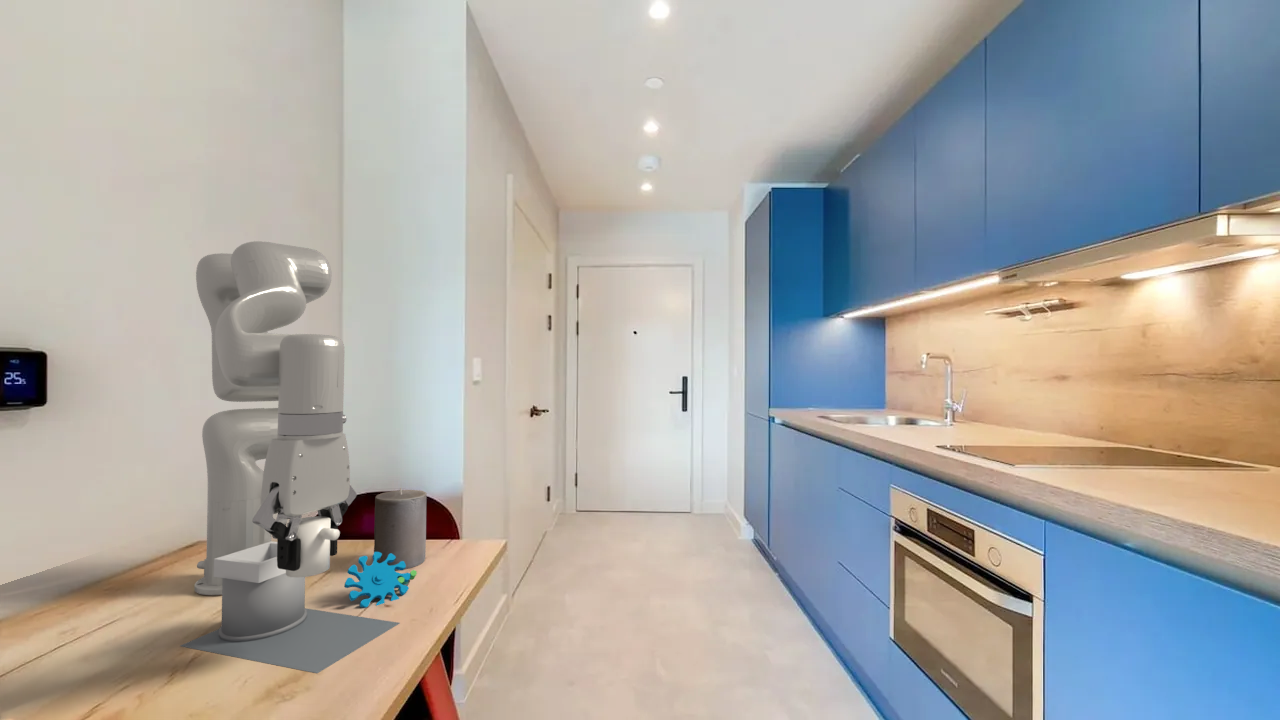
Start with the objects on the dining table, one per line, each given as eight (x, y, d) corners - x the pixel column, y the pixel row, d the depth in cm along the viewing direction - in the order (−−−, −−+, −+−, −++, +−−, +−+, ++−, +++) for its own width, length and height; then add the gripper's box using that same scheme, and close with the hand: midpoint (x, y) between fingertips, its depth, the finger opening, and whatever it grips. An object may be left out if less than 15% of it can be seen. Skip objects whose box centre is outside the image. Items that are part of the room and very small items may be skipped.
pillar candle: (362, 567, 105) (363, 490, 106) (401, 552, 114) (402, 481, 115) (399, 574, 101) (400, 495, 102) (436, 558, 110) (437, 485, 111)
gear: (346, 610, 82) (346, 551, 88) (337, 629, 84) (337, 570, 91) (421, 601, 88) (415, 547, 95) (410, 619, 91) (405, 565, 98)
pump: (276, 574, 70) (277, 524, 70) (310, 561, 75) (311, 515, 75) (317, 581, 68) (319, 530, 68) (349, 567, 73) (350, 519, 73)
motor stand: (178, 652, 72) (180, 567, 73) (275, 610, 86) (276, 537, 86) (317, 681, 65) (318, 586, 66) (400, 629, 79) (400, 550, 79)
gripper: (341, 419, 81) (339, 539, 81) (225, 431, 65) (221, 581, 65) (381, 421, 79) (379, 544, 79) (271, 434, 63) (268, 590, 62)
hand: (308, 560), depth 72 cm, fingers closed on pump, 5 cm apart
